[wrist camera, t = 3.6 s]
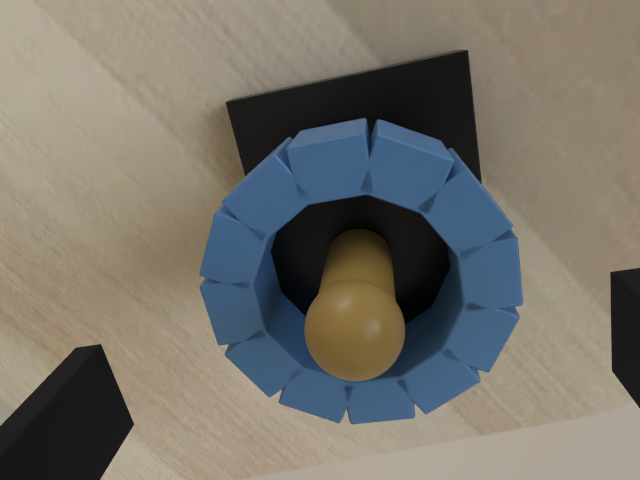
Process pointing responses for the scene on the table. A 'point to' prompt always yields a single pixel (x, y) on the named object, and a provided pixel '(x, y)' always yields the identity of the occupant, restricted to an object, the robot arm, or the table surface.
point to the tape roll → (420, 333)
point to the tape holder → (362, 209)
